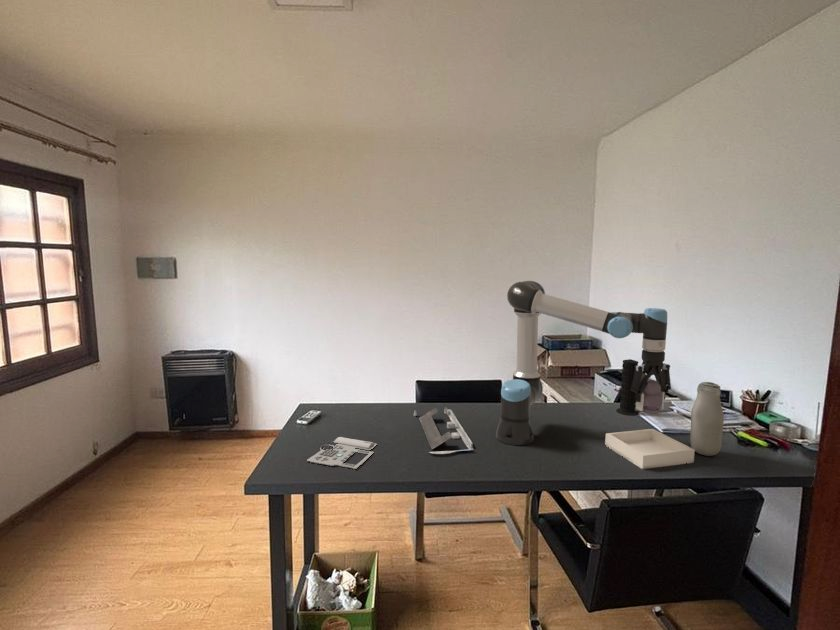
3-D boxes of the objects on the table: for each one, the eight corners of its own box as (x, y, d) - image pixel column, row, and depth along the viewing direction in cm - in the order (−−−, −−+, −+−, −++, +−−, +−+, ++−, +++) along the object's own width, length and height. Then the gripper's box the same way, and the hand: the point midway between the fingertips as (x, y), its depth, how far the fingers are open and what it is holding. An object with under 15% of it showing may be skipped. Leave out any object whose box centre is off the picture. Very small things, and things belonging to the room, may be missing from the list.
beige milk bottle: (711, 449, 163) (718, 379, 160) (725, 461, 153) (732, 387, 150) (683, 447, 165) (689, 378, 162) (695, 458, 155) (701, 385, 152)
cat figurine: (645, 406, 163) (647, 376, 162) (666, 412, 157) (668, 381, 155) (632, 410, 159) (634, 379, 157) (653, 416, 152) (655, 384, 151)
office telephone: (339, 433, 173) (383, 440, 166) (339, 439, 173) (383, 447, 166) (305, 456, 151) (354, 466, 144) (306, 463, 152) (354, 473, 145)
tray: (642, 469, 147) (643, 455, 147) (605, 445, 167) (605, 433, 166) (693, 462, 152) (694, 449, 152) (651, 440, 172) (652, 428, 171)
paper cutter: (450, 414, 202) (450, 403, 202) (476, 455, 159) (476, 441, 158) (413, 415, 200) (413, 404, 199) (429, 458, 156) (429, 444, 155)
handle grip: (614, 407, 211) (617, 414, 201) (617, 356, 208) (621, 360, 198) (636, 409, 208) (640, 416, 199) (639, 357, 205) (644, 362, 195)
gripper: (636, 353, 149) (632, 414, 152) (685, 350, 154) (681, 410, 157) (621, 349, 156) (618, 407, 159) (669, 346, 161) (665, 403, 164)
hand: (649, 408), depth 158 cm, fingers closed on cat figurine, 8 cm apart
